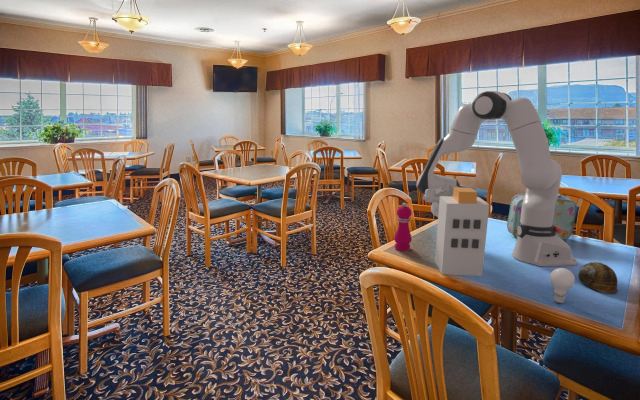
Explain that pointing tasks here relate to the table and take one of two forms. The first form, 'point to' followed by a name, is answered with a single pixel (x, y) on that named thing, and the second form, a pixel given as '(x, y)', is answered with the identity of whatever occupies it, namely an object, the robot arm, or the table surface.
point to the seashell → (599, 277)
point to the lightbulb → (561, 283)
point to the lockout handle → (463, 194)
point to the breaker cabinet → (461, 236)
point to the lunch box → (561, 219)
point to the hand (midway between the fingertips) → (454, 189)
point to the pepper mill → (403, 229)
